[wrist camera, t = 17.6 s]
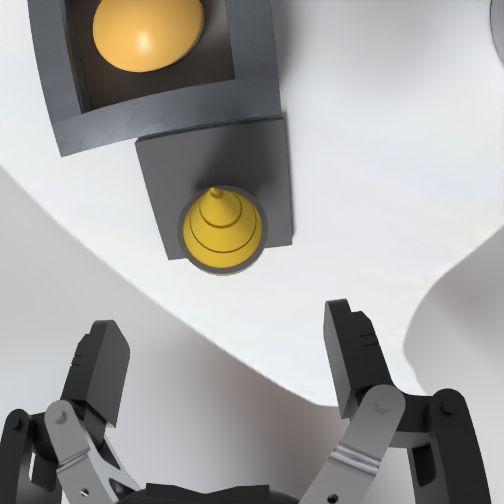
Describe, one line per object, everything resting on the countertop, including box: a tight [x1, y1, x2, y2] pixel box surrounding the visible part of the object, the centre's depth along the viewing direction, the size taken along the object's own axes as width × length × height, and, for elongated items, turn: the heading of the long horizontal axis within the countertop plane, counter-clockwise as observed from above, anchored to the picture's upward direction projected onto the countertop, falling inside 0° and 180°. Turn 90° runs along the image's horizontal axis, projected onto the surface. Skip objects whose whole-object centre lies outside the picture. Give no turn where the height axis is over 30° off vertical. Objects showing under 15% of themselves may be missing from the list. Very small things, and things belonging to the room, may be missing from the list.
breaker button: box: [93, 0, 205, 72], centre depth 13 cm, size 6×6×2 cm
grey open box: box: [27, 0, 282, 157], centre depth 13 cm, size 12×12×4 cm
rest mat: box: [135, 117, 292, 260], centre depth 21 cm, size 9×9×1 cm
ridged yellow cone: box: [177, 185, 268, 276], centre depth 18 cm, size 5×5×10 cm
